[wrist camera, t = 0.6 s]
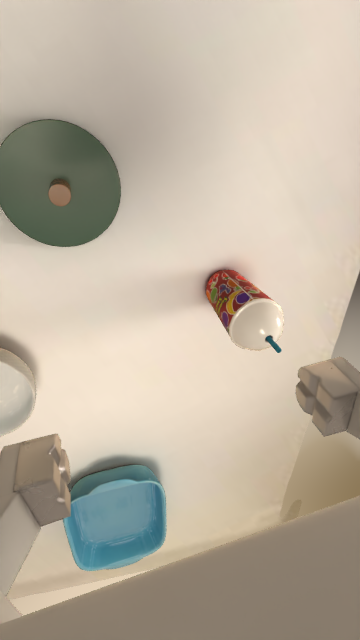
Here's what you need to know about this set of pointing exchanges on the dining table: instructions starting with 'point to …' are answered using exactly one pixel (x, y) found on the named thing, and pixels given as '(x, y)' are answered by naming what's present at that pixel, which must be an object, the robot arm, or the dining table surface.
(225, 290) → the smoothie
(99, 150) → the pot lid
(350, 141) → the dining table surface
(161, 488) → the casserole dish
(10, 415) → the cereal bowl
